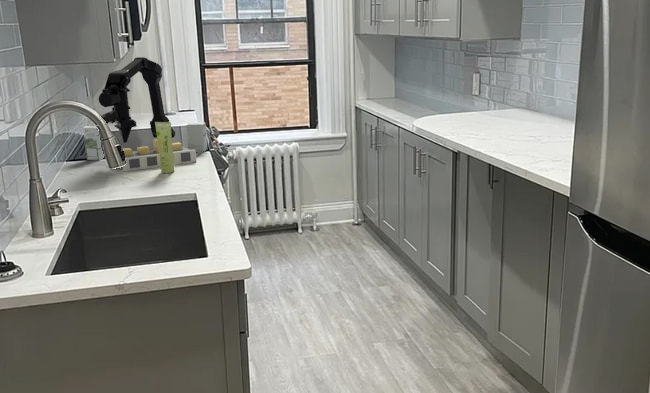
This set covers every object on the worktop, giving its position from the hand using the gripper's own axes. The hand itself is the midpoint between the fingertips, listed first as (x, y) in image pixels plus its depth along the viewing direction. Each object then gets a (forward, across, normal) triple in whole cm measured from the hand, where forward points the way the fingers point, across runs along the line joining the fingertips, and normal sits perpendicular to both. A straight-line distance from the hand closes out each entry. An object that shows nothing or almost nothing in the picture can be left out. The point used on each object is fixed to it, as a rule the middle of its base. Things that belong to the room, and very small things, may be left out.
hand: (125, 142), depth 250 cm
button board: (+9, 0, +11) cm, 14 cm away
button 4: (+9, 0, 0) cm, 9 cm away
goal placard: (+9, +11, +11) cm, 18 cm away
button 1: (+9, 0, +21) cm, 23 cm away
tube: (+10, +23, +10) cm, 27 cm away
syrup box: (+10, -20, -8) cm, 24 cm away
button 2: (+7, 0, +14) cm, 16 cm away
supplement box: (+10, -11, +35) cm, 38 cm away
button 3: (+9, 0, +7) cm, 12 cm away
